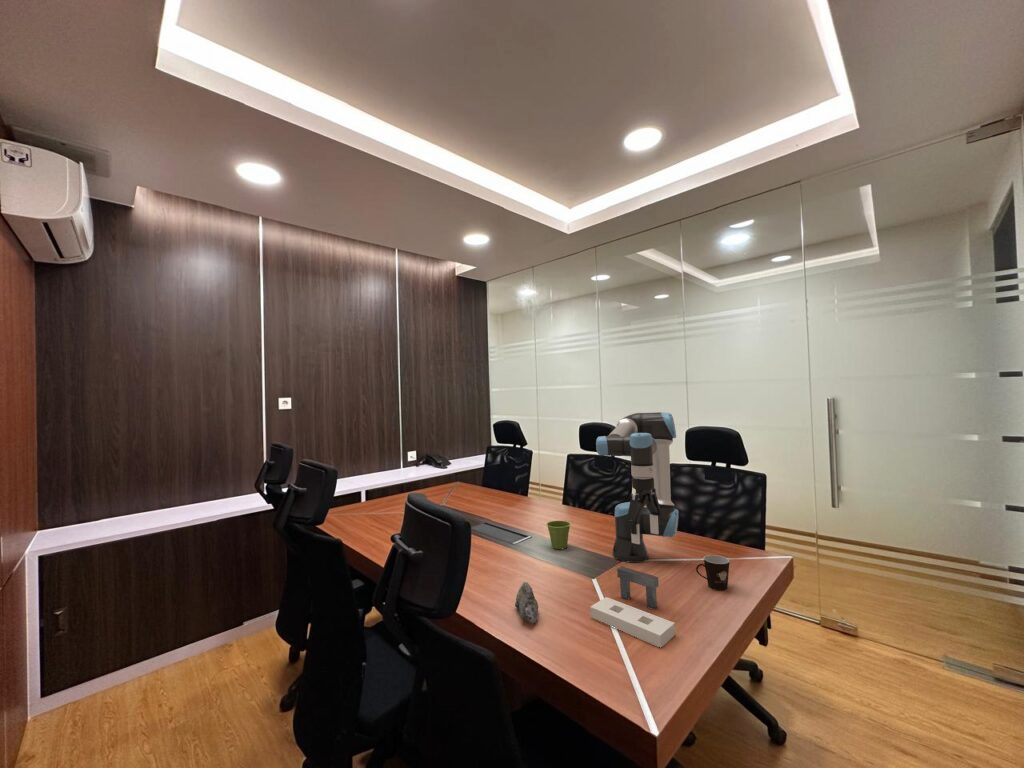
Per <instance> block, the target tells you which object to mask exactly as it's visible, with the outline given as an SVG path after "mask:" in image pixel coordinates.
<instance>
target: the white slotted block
mask: <svg viewBox="0 0 1024 768" xmlns="http://www.w3.org/2000/svg"><path fill="white" fill-rule="evenodd" d="M589 608H590V618H591V617H593V618H595V619H597V620H599V621H601V622H600V623H602V622H604V623H606V624H608V625H607V626H609V625H610V626H609V627H611V626H613V627H615V628H617V629H616V630H618V629H619V630H618V631H620V630H621V631H620V632H622V631H623V632H622V633H626V634H627V635H629V634H630V636H631V637H634V636H635V637H634V638H636V637H637V639H639V640H641V641H644V642H646V643H648V644H650V645H653V646H655V647H657V648H659V647H660V649H662V648H663V647H664V646H665V645H666V644H667V643H668V642H669V641H671V640H672V638H674V637H675V636H676V623H675V622H674V621H671V620H668V619H666V618H663V617H660V616H657V615H655V614H652V613H649V612H647V611H644V610H641V609H639V608H636V607H634V606H631V605H628V604H625V603H623V602H620V601H618V600H616V599H612V598H611V597H607V596H605V597H603V598H602V599H600V600H599V601H597V602H596V603H593V604H592V605H591V606H590V607H589ZM595 619H594V620H595ZM597 620H596V621H597ZM599 621H598V622H599ZM604 623H603V624H604ZM606 624H605V625H606ZM613 627H612V628H613ZM615 628H614V629H615ZM661 647H662V648H661Z"/></svg>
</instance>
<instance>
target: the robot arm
mask: <svg viewBox="0 0 1024 768" xmlns="http://www.w3.org/2000/svg"><path fill="white" fill-rule="evenodd" d="M676 438H677V431H676V425H675V420H674V417H673V415H672V413H670V412H664V411H663V412H661V411H660V412H636V413H631V414H629V415H627V416H625V417H623V418H621V419H619V420H618V422H617V424H616V426H615V428H614V429H613V430H612V431H611V432H610V433H609V435H607V436H606V435H603V436H602V435H601V436H598V437H597V438H596V440H595V441H596V442H595V445H596V447H595V450H596V453H597V454H598V455H599V456H605V457H630V465H631V466H630V467H631V470H630V472H631V474H630V475H631V476H632V478H631V488H632V489H634V490H635V493H630V496H629V497H630V500H629V501H628V502H622V503H619V504H617V505H616V506H615V507H614V522H615V540H614V544H613V548H612V557H613V556H614V557H615V559H616V558H617V559H616V560H618V559H620V560H619V561H621V560H623V561H622V562H625V561H629V562H628V563H640V562H641V561H642V562H644V561H647V559H648V558H649V554H648V550H647V546H646V543H645V541H644V535H647V536H653V537H655V536H657V537H662V538H665V537H667V538H668V537H669V538H673V537H675V536H676V535H677V531H678V526H679V509H677V508H675V507H676V505H675V504H674V503H673V501H672V499H671V497H672V493H671V465H670V464H671V463H670V462H671V461H670V456H671V455H670V446H671V445H672V444H673V443H674V439H676ZM614 557H613V558H614ZM642 562H641V563H642Z"/></svg>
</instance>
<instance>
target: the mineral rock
mask: <svg viewBox="0 0 1024 768" xmlns="http://www.w3.org/2000/svg"><path fill="white" fill-rule="evenodd" d="M514 607H515V608H516V607H517V611H518V612H519V617H520V619H522V620H525V621H528V622H529V623H531V624H534V623H536V622H537V621H538V617H539V604H538V601H537V599H536V597H535V594H534V591H533V588H532V586H530V584H529V582H527V581H523V582H522V583H521V585H520V587H519V588H518V591H517V594H516V597H515V603H514Z"/></svg>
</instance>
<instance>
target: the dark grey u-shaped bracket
mask: <svg viewBox="0 0 1024 768" xmlns="http://www.w3.org/2000/svg"><path fill="white" fill-rule="evenodd" d="M616 571H617V574H616V575H617V578H619V583H620V584H619V585H620V598H621V597H623V598H626V599H627V600H629V599H630V598H631V597H632V595H631V583H634V584H637V585H641V586H643V587H645V593H646V595H645V596H646V608H648V607H649V609H651V608H652V609H651V610H653V609H654V608H655V609H657V607H658V600H657V588H658V587H659V577H658V576H656V575H652V574H649V573H645V572H642V571H639V570H636V569H632V568H629V567H627V566H623V565H621V566H619V567H617V570H616ZM629 597H630V598H629ZM623 598H622V599H623ZM628 598H629V599H628ZM626 599H625V600H626ZM655 609H654V610H655Z"/></svg>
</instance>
